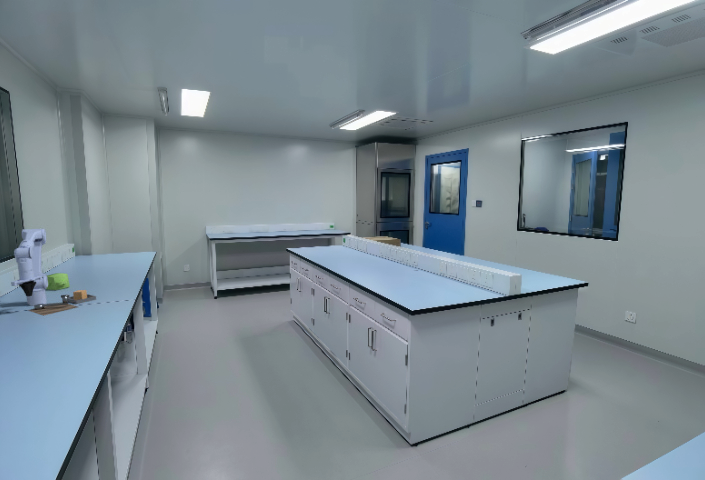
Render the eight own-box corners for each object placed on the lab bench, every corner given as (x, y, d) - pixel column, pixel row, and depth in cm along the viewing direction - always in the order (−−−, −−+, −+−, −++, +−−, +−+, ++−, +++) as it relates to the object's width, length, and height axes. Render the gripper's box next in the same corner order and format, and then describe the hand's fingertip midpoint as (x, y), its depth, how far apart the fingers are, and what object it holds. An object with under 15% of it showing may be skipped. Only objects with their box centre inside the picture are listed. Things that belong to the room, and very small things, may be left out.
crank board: (27, 312, 194) (27, 310, 194) (63, 304, 208) (62, 302, 208) (43, 317, 186) (43, 315, 186) (79, 308, 200) (79, 306, 200)
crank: (32, 310, 194) (31, 298, 193) (36, 307, 198) (35, 296, 197) (68, 307, 198) (67, 295, 198) (72, 305, 202) (70, 293, 201)
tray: (66, 302, 211) (65, 297, 210) (85, 298, 219) (85, 293, 219) (76, 305, 205) (76, 300, 204) (96, 301, 213) (95, 296, 213)
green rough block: (38, 290, 241) (36, 276, 240) (55, 285, 250) (52, 272, 249) (56, 291, 235) (54, 277, 234) (72, 287, 244) (70, 273, 243)
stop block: (74, 302, 209) (73, 292, 208) (79, 300, 214) (78, 290, 213) (82, 302, 210) (81, 292, 209) (87, 299, 214) (86, 289, 213)
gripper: (18, 273, 182) (22, 300, 184) (46, 267, 196) (48, 292, 198) (6, 273, 183) (9, 299, 184) (34, 267, 197) (37, 292, 199)
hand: (29, 295), depth 191 cm, fingers closed
